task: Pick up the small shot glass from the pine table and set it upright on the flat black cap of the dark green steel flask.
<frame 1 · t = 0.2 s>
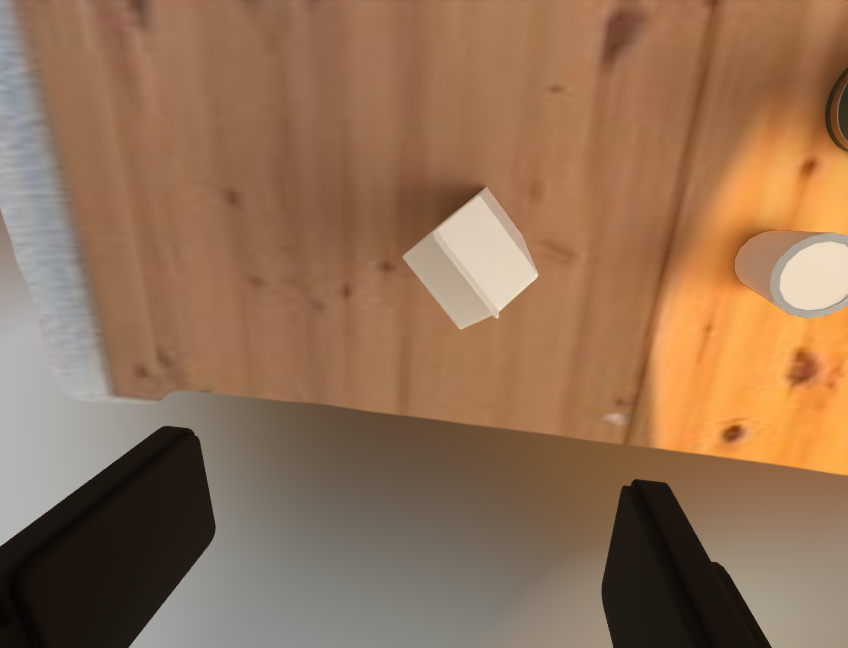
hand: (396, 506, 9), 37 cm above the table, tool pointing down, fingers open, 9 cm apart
shot glass: (766, 260, 40), on the table
milk: (480, 229, 43), on the table
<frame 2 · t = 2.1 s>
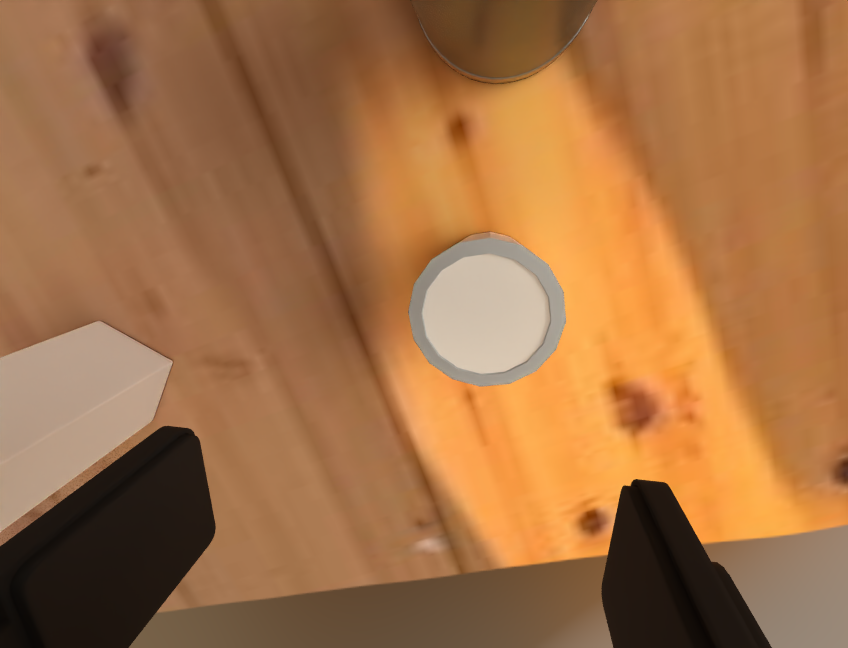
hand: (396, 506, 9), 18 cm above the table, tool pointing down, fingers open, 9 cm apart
shot glass: (486, 279, 25), on the table
milk: (129, 370, 31), on the table
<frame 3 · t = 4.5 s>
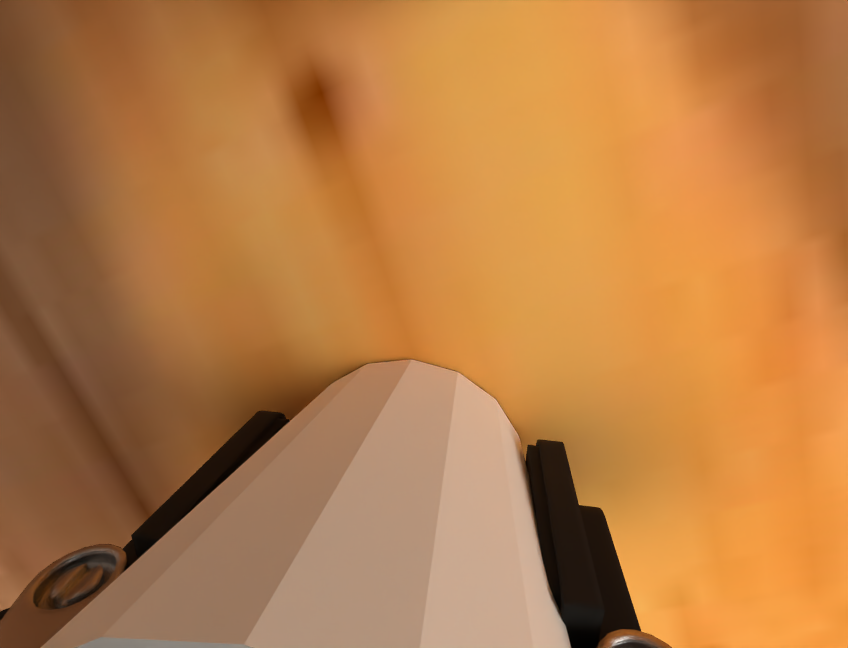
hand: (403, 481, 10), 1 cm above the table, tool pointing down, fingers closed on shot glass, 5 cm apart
shot glass: (412, 456, 11), on the table, touching gripper
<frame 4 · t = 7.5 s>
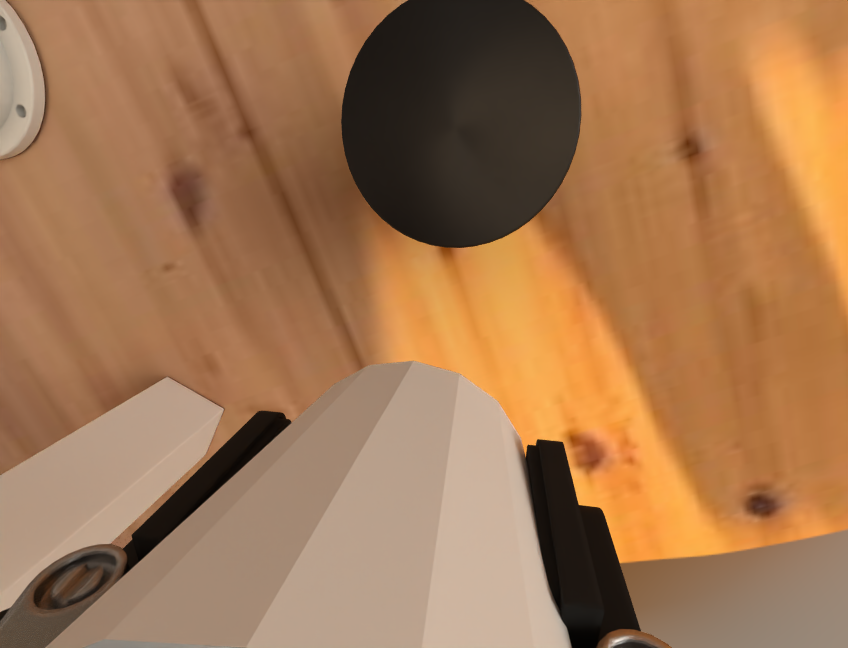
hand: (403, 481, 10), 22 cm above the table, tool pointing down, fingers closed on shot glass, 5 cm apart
shot glass: (413, 457, 11), point 21 cm above the table, touching gripper
flask: (477, 151, 28), on the table
milk: (189, 415, 39), on the table
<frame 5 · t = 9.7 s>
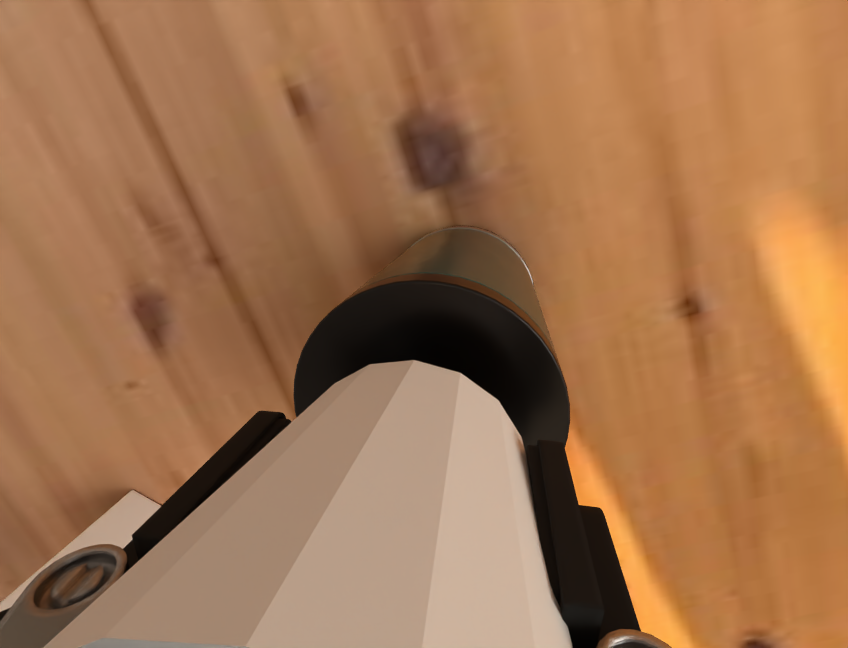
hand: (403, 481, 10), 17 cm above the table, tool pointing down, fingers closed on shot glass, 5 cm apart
shot glass: (414, 456, 11), point 16 cm above the table, touching gripper
flask: (461, 295, 26), on the table
milk: (156, 526, 37), on the table
when the fingers open (15 cm above the table, at t = 10.9 s): shot glass stays where it is, resting on flask.
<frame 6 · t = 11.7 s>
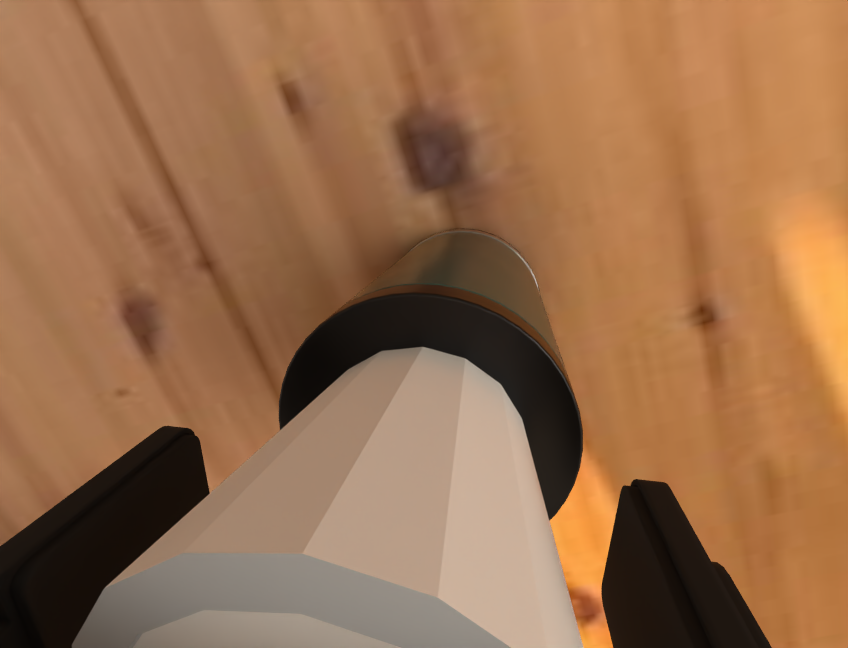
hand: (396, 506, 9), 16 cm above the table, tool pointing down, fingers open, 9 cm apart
shot glass: (422, 438, 12), point 14 cm above the table, touching flask
flask: (463, 302, 25), on the table, touching shot glass
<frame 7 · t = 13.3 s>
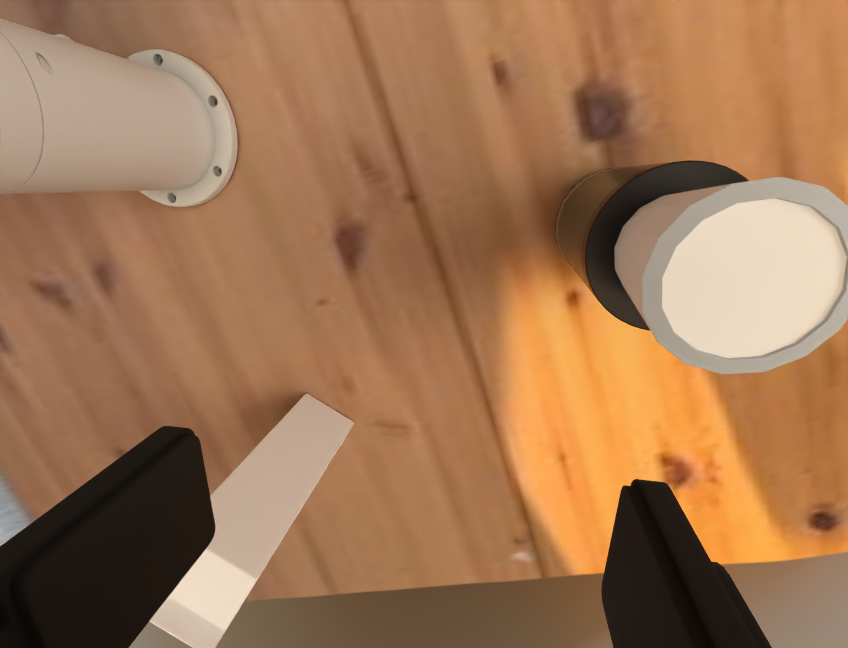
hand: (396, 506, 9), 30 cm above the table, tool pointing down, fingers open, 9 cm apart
shot glass: (673, 251, 21), point 14 cm above the table, touching flask
flask: (609, 224, 34), on the table, touching shot glass
milk: (319, 426, 46), on the table
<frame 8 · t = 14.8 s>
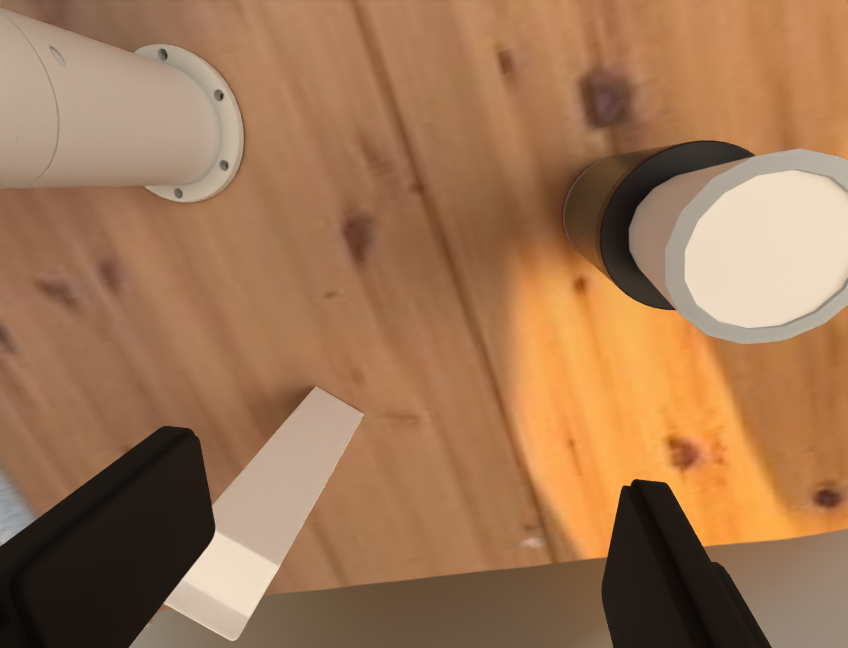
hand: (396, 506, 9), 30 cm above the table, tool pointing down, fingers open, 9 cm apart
shot glass: (686, 230, 22), point 14 cm above the table, touching flask
flask: (615, 210, 34), on the table, touching shot glass
milk: (329, 418, 46), on the table
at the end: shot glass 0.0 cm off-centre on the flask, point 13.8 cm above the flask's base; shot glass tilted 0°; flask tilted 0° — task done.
